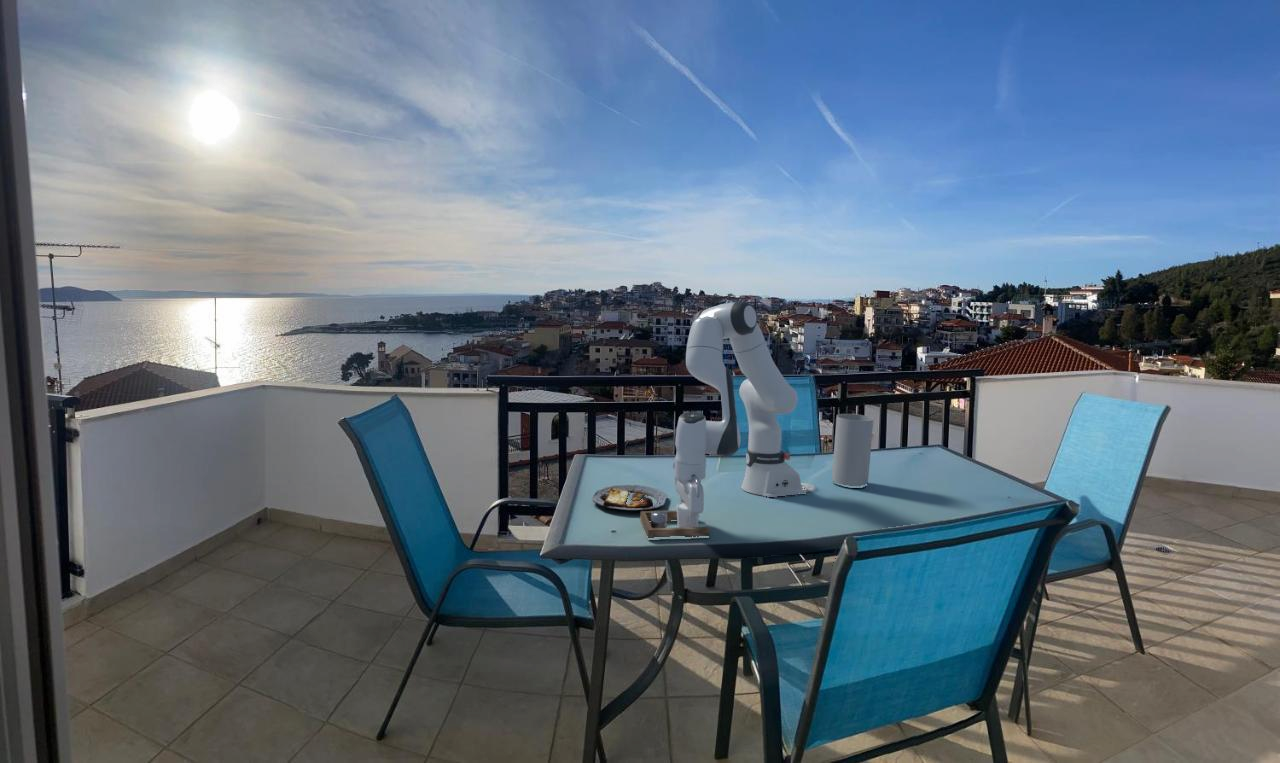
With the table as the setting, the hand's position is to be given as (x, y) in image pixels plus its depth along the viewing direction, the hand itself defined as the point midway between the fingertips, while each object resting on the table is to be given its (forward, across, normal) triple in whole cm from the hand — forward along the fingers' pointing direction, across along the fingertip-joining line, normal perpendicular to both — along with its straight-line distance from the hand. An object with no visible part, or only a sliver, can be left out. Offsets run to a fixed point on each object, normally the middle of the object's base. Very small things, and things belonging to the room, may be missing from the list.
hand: (688, 517), depth 171 cm
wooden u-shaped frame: (+4, 0, +4) cm, 5 cm away
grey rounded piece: (+4, 0, +8) cm, 9 cm away
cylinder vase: (+4, +38, -70) cm, 79 cm away
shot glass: (+4, 0, 0) cm, 4 cm away
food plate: (+4, +24, +14) cm, 28 cm away
